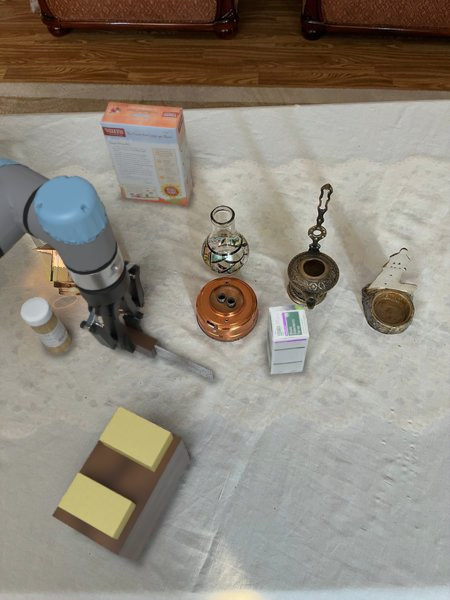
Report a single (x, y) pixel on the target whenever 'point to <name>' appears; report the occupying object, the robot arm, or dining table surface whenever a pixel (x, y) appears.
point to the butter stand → (131, 494)
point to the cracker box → (149, 152)
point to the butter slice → (97, 505)
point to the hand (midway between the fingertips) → (132, 342)
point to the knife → (159, 350)
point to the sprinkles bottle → (46, 324)
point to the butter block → (136, 438)
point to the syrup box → (287, 338)
